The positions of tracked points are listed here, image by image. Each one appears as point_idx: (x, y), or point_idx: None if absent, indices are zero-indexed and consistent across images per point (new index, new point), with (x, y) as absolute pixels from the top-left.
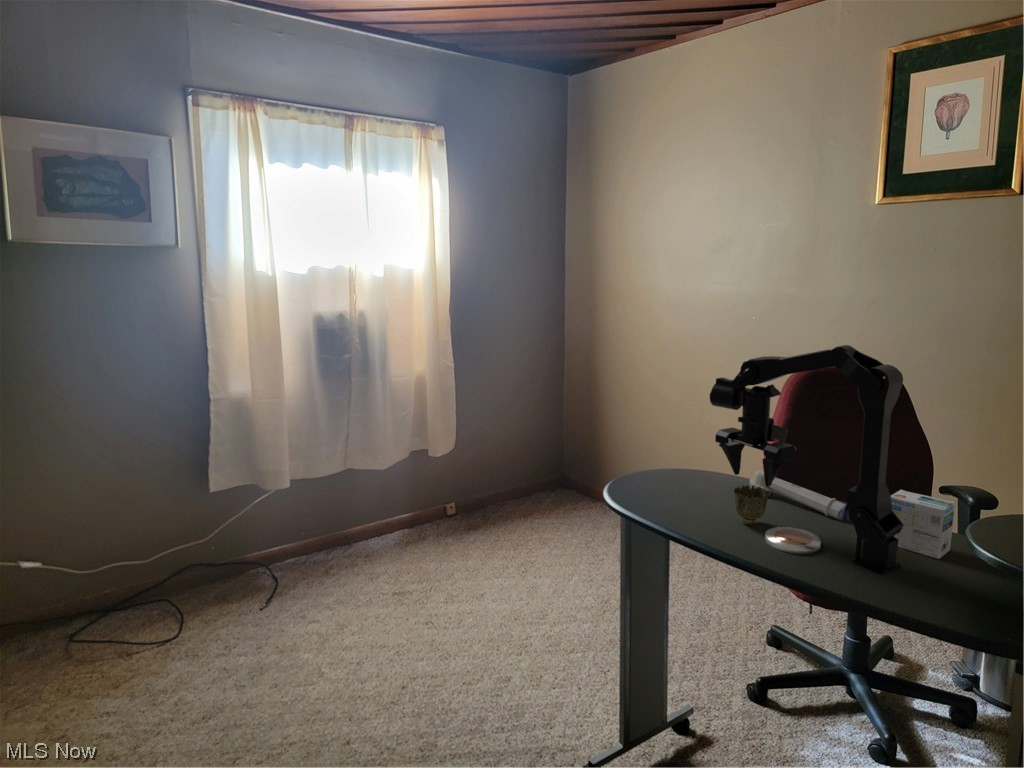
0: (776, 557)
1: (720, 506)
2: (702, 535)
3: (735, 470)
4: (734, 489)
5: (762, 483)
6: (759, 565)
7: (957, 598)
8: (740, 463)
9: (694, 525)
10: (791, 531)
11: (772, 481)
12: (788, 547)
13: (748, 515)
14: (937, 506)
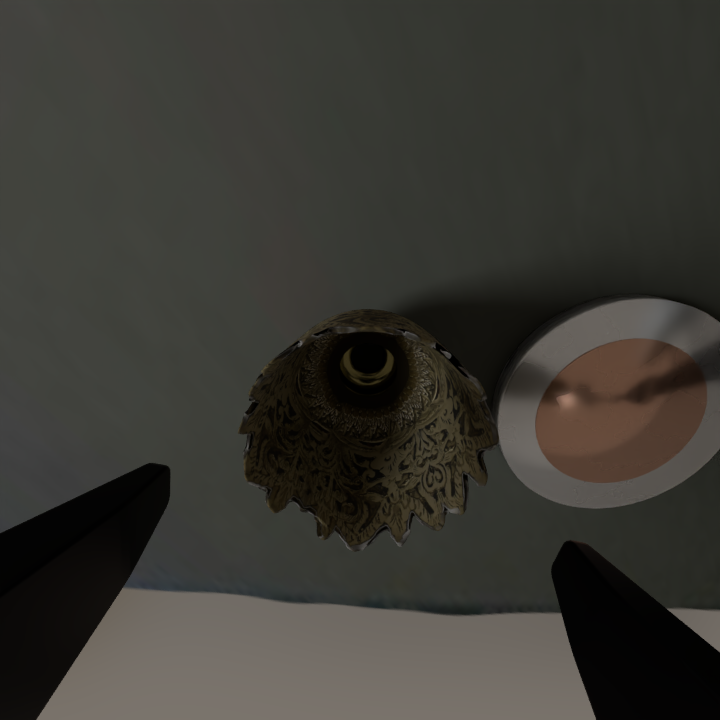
0: (593, 540)
1: (145, 275)
2: (319, 563)
3: (140, 548)
4: (259, 486)
5: None
6: None
7: None
8: (73, 543)
9: (242, 521)
10: (596, 368)
11: (631, 584)
12: (630, 502)
13: (397, 440)
14: None
